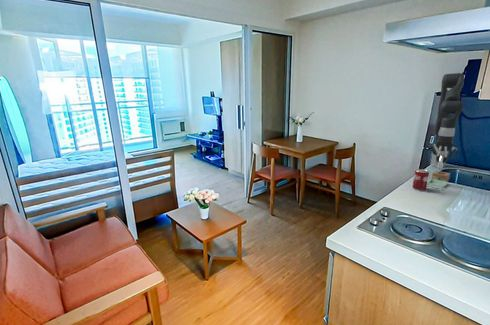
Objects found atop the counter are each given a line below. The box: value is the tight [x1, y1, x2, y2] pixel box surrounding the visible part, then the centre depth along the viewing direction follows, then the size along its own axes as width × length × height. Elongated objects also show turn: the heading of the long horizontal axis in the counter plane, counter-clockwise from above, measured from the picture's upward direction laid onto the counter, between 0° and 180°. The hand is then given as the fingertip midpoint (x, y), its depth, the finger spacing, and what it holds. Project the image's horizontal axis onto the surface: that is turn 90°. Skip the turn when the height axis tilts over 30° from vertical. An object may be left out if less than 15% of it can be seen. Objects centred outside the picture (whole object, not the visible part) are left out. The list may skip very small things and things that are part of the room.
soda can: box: [411, 168, 430, 192], centre depth 159 cm, size 7×7×12 cm
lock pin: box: [436, 155, 445, 171], centre depth 160 cm, size 3×3×9 cm
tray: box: [427, 178, 449, 191], centre depth 164 cm, size 10×9×2 cm
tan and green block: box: [430, 170, 451, 183], centre depth 171 cm, size 13×9×5 cm
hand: (441, 162), depth 160 cm, fingers closed on lock pin, 2 cm apart
